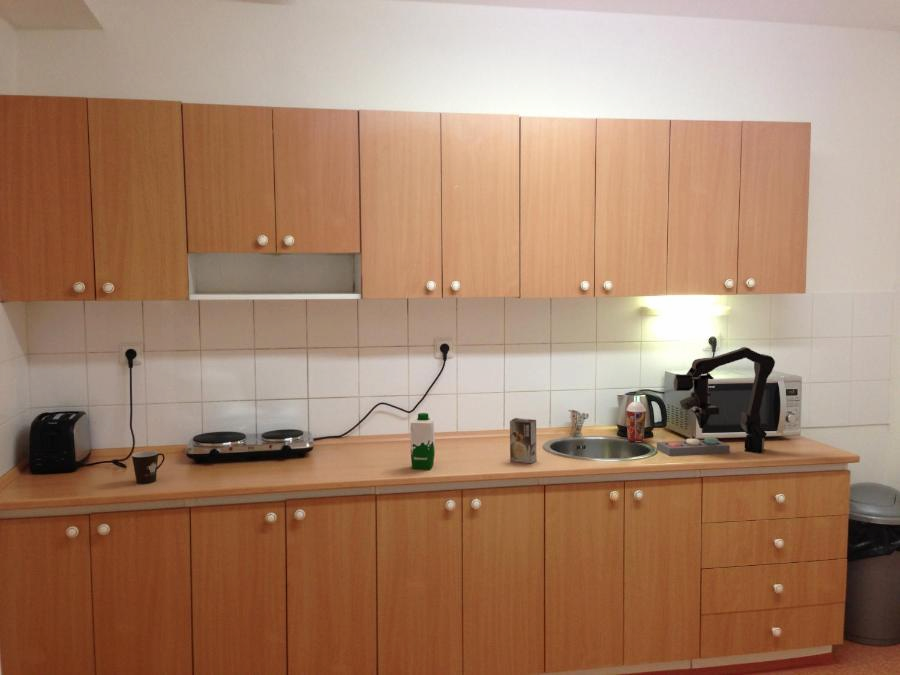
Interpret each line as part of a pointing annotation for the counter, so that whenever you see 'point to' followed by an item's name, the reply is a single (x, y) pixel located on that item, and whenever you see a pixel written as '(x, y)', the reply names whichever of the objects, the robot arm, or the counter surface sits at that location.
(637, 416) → the smoothie
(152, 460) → the coffee mug
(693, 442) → the cream button
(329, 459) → the counter surface
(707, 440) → the teal button
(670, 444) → the red button
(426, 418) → the milk carton
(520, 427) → the coffee box
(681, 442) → the button panel
